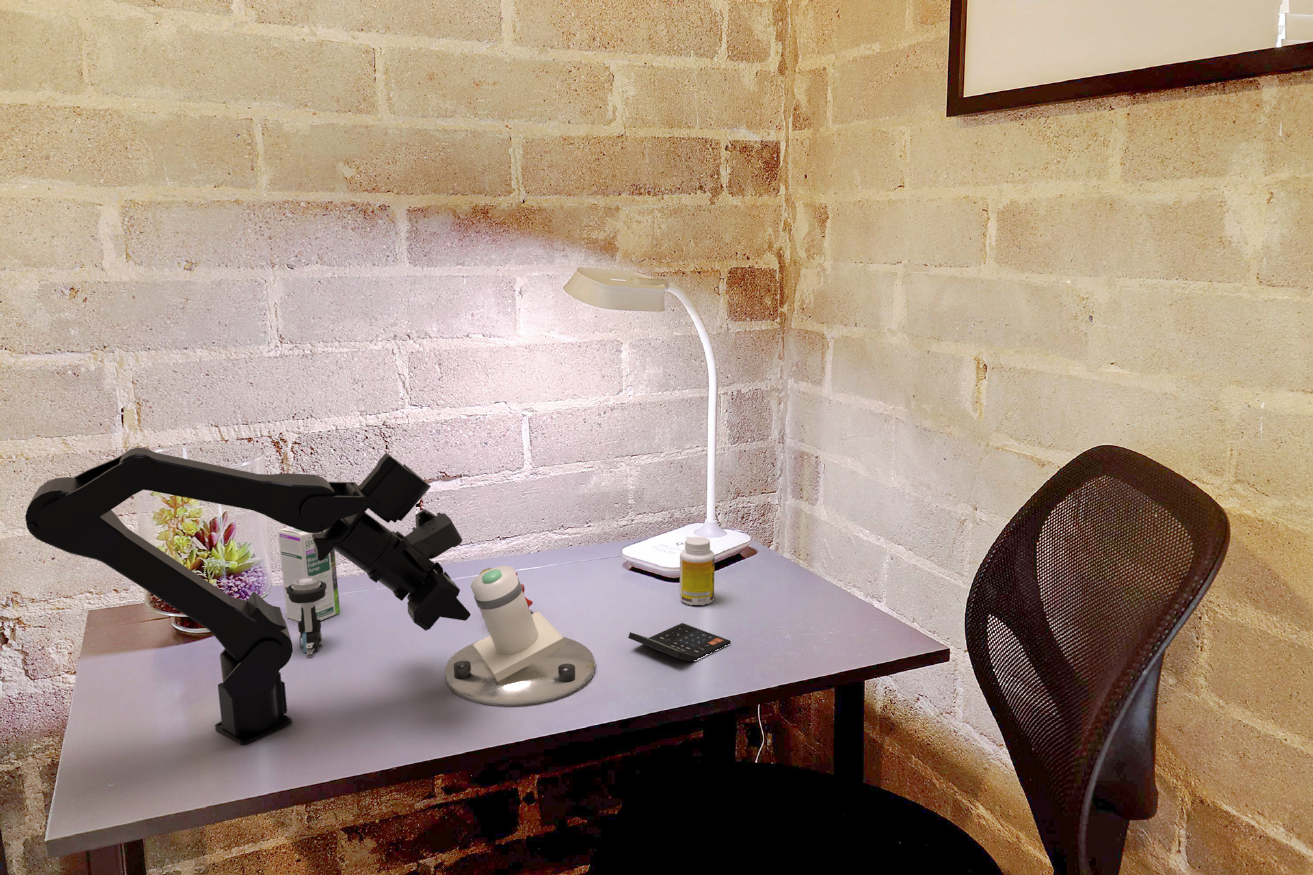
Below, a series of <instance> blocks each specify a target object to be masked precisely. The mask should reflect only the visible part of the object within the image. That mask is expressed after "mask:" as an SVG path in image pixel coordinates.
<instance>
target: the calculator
mask: <svg viewBox="0 0 1313 875" xmlns="http://www.w3.org/2000/svg"><path fill="white" fill-rule="evenodd" d="M627 638H628V639H629V640H632V641H635V642H637V643H639V644H642V645H645V646H647V647H650V648H652V649H654V650H656V651H659V652H662V653H664V654H667V655H670V656H671V657H674V658H676V659H681V660H684V661H688V662H691V663H694V662H693V661H694V660H697V659H698V658H701V657H703V656H705V655H706V654H710V653H711V652H714V651H715V650H717V649H720V648H722V647H724V646H725V645H728V644H730V643H731V642H732V641H731V640H729V639H727V638H724V637H722V636H719V635H716V634H714V633H711V632H708V631H706V630H703V629H700V628H699V627H698V628H697V627H694V626H691V625H690V624H686V623H684V622H681V623H679V624H677V625H674V626H672V627H670V628H668V629H665V630H663V631H661V632H659V633H657V634H654V635H652V636H650V637H648V636H647V637H646V636H643V635H640V634H638V633H637V634H636V633H633V632H631V631H630V632H629V634H628V636H627ZM731 644H732V643H731ZM710 655H711V654H710Z"/></svg>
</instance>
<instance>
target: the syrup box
mask: <svg viewBox="0 0 1313 875" xmlns="http://www.w3.org/2000/svg"><path fill="white" fill-rule="evenodd" d="M324 531H325V530H324ZM324 531H323V532H324ZM320 533H322V532H320ZM277 534H278V545H279V554H280V561H281V562H280V563H281V564H280V565H281V572H282V581H283V592H284V601H285V602H284V603H285V611H286V614H285V615H286V617H287V619H290V620H292V621H295V622H298V621H299V622H300V621H301V616H302V614H301V607H302V605H299V604H296V603H294V602H291V600H290V599H289V594H287V591H286V589H287V587H288V586H290V585H292V584H293V581H294V580H295V579H297V578H300V577H304V576H315V577H318V578H319V581H322V582H325V583H326V589H325V596H324V598H322V599H320V600H319V601H318V602H316V603H314V605H315V610H316V613H317V619H320V620H321V621H323V620H325V619H328V618H330V617H332V616H335V615H339V614H340V613H341V607H340V598H339V587H338V575H337V563H336V553H335V552H336V551H335V550H334V549H333V550H332V551H331V552H330V553H329V554H328V555H327V556H326V558H325V559H324V560H323V561H319V560H318V559H317V556H316V554H315V552H314V541H313V538H312V534H317V533H307V532H304V531H301V530H298V529H295V528H293V527H290V526H287V527H285V528H281V529H279V530H277ZM299 622H298V623H299Z"/></svg>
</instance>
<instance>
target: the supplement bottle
mask: <svg viewBox="0 0 1313 875" xmlns="http://www.w3.org/2000/svg"><path fill="white" fill-rule="evenodd" d="M715 560H716V559H715V552H714V551H713V550H712V549H711V541H710V539H709V538H707V537H705V536H704V537H703V536H691V537H687V538H686V539H685V542H684V549H683V550H682V551H681V552H680V554H679V599H680V601H681V602H682V603H683V602H684V604H685V603H686V605H688V604H689V605H688V606H692V605H702V606H706V605H705V604H707V605H709V604H711V603H713V601H714V599H715Z"/></svg>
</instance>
